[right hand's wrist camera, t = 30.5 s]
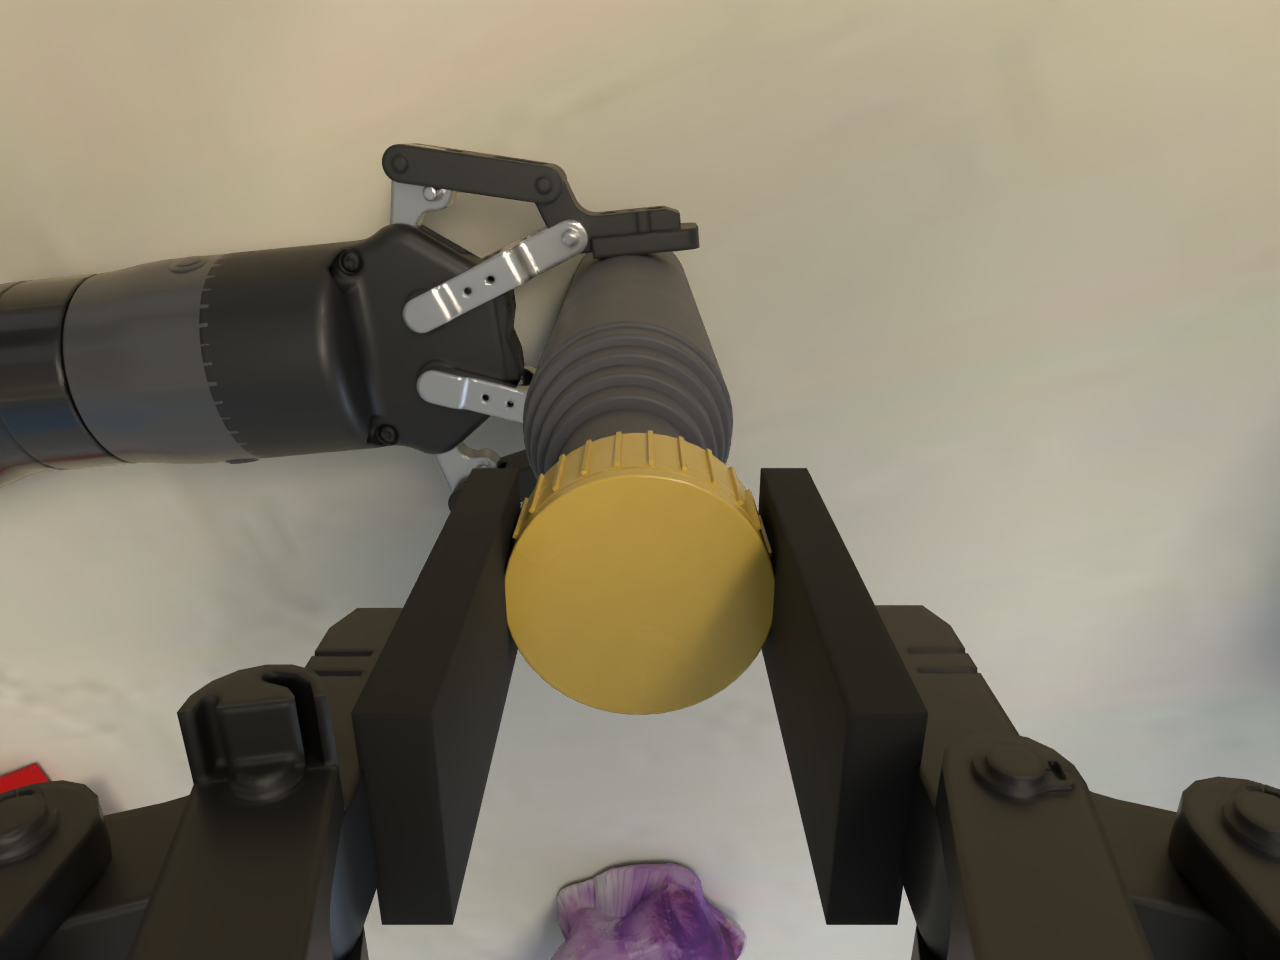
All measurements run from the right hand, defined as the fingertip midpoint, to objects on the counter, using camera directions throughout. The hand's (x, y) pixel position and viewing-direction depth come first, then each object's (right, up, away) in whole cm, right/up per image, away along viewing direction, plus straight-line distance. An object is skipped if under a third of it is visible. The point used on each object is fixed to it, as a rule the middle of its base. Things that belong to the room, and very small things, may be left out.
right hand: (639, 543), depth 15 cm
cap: (0, -1, -1) cm, 2 cm away
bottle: (0, +9, +23) cm, 25 cm away
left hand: (+2, +7, +17) cm, 19 cm away
